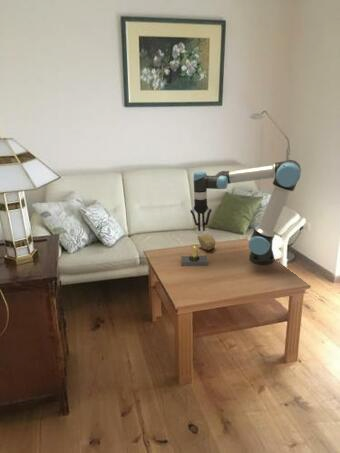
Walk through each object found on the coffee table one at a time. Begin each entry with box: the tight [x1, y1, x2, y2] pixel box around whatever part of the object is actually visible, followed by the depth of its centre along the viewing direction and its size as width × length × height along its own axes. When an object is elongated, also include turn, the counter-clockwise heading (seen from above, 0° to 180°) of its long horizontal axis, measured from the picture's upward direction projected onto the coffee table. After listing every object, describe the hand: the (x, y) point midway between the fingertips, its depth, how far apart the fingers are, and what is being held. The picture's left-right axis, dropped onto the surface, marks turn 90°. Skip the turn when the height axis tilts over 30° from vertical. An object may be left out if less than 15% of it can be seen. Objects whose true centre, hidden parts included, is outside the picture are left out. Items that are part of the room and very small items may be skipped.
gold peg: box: [190, 244, 199, 261], centre depth 222 cm, size 4×4×11 cm
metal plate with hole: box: [180, 255, 209, 267], centre depth 223 cm, size 16×9×2 cm, turn 90°
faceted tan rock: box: [196, 233, 216, 251], centre depth 242 cm, size 15×11×12 cm
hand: (201, 236), depth 220 cm, fingers closed
